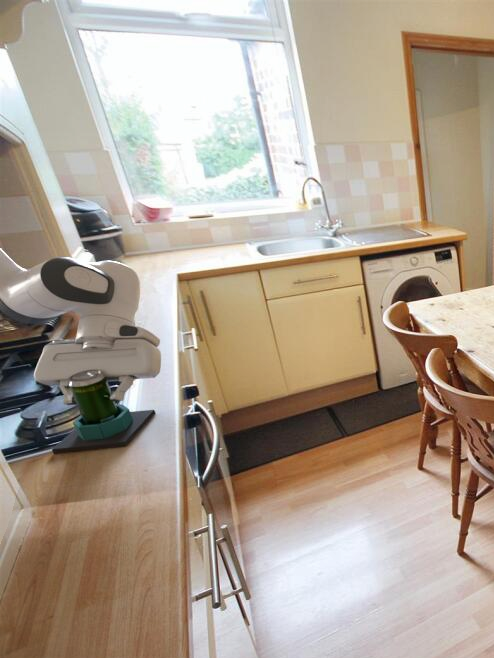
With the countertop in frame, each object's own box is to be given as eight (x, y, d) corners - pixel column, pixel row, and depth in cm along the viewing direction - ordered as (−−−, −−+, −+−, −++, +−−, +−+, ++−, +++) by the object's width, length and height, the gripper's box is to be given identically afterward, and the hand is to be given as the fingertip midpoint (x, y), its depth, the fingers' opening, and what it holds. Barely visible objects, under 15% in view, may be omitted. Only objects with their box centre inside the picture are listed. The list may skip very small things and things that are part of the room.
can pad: (53, 453, 87) (45, 436, 86) (91, 419, 98) (84, 402, 96) (126, 446, 90) (119, 429, 88) (155, 413, 100) (150, 397, 99)
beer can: (129, 423, 95) (110, 371, 90) (100, 438, 90) (78, 383, 86) (111, 418, 97) (91, 367, 92) (82, 432, 92) (59, 379, 87)
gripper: (33, 334, 90) (16, 403, 85) (152, 327, 94) (142, 393, 89) (57, 346, 96) (43, 411, 91) (168, 339, 100) (160, 401, 95)
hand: (93, 402), depth 90 cm, fingers open, 6 cm apart
